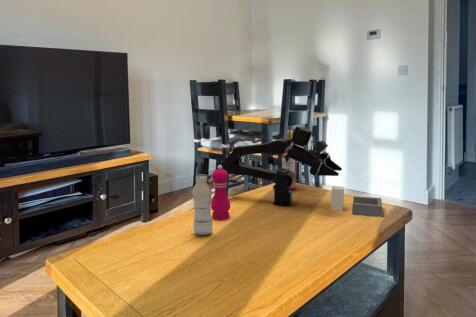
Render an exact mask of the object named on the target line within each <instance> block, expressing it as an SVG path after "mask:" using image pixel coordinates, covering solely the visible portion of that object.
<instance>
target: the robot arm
mask: <svg viewBox="0 0 476 317" xmlns="http://www.w3.org/2000/svg"><path fill="white" fill-rule="evenodd" d="M313 133H314V132H313V131H312V130H311V129H309V128H306V127H300V126H299V125H298V126H295V129H294V131H293V135H292V138H290V139H288V140H287V138H285V137H282V138H279V139H276V140H271V141H269V142H266V143H265V142H263V143H256V144H248V145H247V144H246V145H237V146H236V147H234V148H233V150H232V151H231V153H230V154H229V155H228V156H227V157H226V158H225V160H223V161H221V163H220V164H219V165H221V166H222V169H224V170H226V171H227V173H228V175H243V176H247V177H252V178H256V179H262V180H266V181H270V182H272V183H273V186H272V188H273V190H274V191H273V194H274V195H273V198H274V199H273V200H274V201H273V202H272V205H275V206H284V207H289V206H290V205H291V204H292V203H293V192H292V190H291V189H289V188H290V187H291V185H292V184H293V183H294V182H295V181H296V180H297V176H296V175H297V174H296V175H295V174H294V172H292V171H290V169H284V168H282V167H279V168H277V169H276V170H271V169H268V168H262V167H258V166H254V165H248V164H244V163H243V162H241V159H242V156H248V155H249V156H250V155H257V154H271V155H282V154H283V153H284V152H286V151H287V150H288V149H289V150H288V153H287V155H285V156H284V158H285V160H286V162H288V161H289V160H290V158H291V159H294V160H296V161H297V162H298V163H300V164H301V165H302V166H307V167H309V174H310V175H312V176H314V177H316V176H317V177H319V176H320V177H327V176H328V177H330V176H331V177H338V176H339V175H340V174H339V172H341V171H342V169H343V168H342V167H341V166H340V165H338V164H337V163H336V162H335V161H333V160H332V158H331V155H330V154H329V152H327V151H324V150H326V149H327V148H328V146H329V145H328V143H326V141H324V140H318V141H317V142H316V143H315V147H314V148H313V149H311V148H310V149H306V148H304V147H305V146H308V145H309V142H310V139H311V137H312V135H313ZM292 144H293V146H292V148H289V146H290V145H292Z"/></svg>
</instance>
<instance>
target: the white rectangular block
mask: <svg viewBox="0 0 476 317" xmlns="http://www.w3.org/2000/svg"><path fill="white" fill-rule="evenodd" d="M330 193H331V194H330V195H331V198H330V199H331V201H330V210H331V211H340V212H341V211H342V212H343V210H344V207H345V206H344V205H345V203H344V200H345V187H344V186H338V185H337V186H336V185H332V186H331V192H330Z"/></svg>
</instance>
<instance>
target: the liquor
mask: <svg viewBox="0 0 476 317" xmlns="http://www.w3.org/2000/svg"><path fill="white" fill-rule="evenodd" d="M293 134H294V131H293V129H287V130H286V136H287V138H286V140H288V139H290V138H292V137H293ZM293 144H294V143H293ZM293 144H292V145H290V146H289V148H292V146H293ZM288 150H289V149H288ZM288 150H287V151H286V152H284V153H283V154H281V168H284V169H290V171H292V172H294V174H295V175H297V162H298V161H296V160H294V159H291V158H290V160H289V161H288V162H286V160H285V158H284V156H285V155H287V153H288ZM296 184H297V183H296V181H295V182H294V183H293V184H292V185H291V187H290V188H289V189H291V191H294V190H295V189H296V188H297V186H296Z"/></svg>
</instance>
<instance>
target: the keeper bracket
mask: <svg viewBox="0 0 476 317" xmlns="http://www.w3.org/2000/svg"><path fill="white" fill-rule="evenodd" d="M352 200H353V201H352V204H351V206H352V207H351V209H352V210H351V215H359V216H367V215H368V216H370V217H378V216H381V217H382V212H383V202H382V201H383V200H382V197H372V196H359V195H358V196H357V195H354V196H353V198H352ZM368 216H367V217H368Z"/></svg>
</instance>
